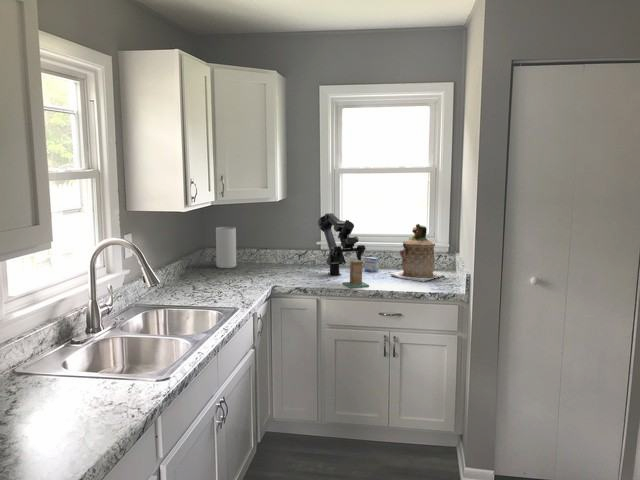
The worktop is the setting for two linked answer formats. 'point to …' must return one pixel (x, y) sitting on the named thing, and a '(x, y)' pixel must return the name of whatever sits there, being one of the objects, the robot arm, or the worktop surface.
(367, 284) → the green mat
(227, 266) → the cylinder vase
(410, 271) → the cookie jar
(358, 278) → the walnut block
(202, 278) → the worktop surface
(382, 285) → the worktop surface
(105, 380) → the worktop surface
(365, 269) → the medicine box
